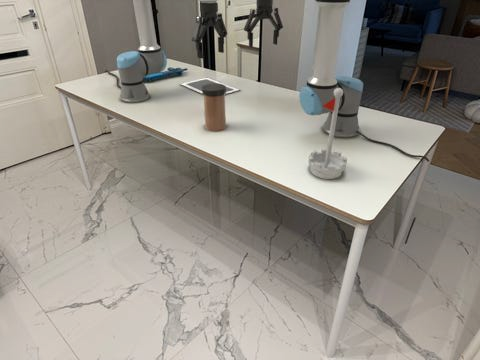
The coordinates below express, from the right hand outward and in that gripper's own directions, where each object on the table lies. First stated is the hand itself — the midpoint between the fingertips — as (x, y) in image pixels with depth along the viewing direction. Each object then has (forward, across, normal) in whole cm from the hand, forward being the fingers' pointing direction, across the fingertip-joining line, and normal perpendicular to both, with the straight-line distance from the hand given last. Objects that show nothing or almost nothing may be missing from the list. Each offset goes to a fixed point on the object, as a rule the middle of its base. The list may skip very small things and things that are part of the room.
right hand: (263, 45), depth 167 cm
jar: (+28, +35, +22) cm, 50 cm away
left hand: (0, +30, +6) cm, 30 cm away
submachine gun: (+28, +38, -70) cm, 84 cm away
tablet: (+28, +18, -32) cm, 46 cm away
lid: (+10, +35, +22) cm, 42 cm away
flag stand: (+28, +14, +74) cm, 80 cm away
